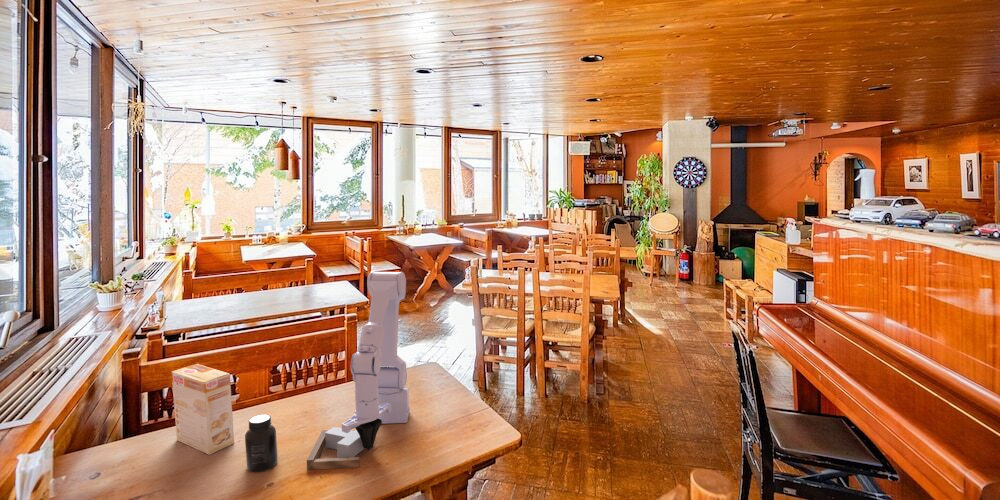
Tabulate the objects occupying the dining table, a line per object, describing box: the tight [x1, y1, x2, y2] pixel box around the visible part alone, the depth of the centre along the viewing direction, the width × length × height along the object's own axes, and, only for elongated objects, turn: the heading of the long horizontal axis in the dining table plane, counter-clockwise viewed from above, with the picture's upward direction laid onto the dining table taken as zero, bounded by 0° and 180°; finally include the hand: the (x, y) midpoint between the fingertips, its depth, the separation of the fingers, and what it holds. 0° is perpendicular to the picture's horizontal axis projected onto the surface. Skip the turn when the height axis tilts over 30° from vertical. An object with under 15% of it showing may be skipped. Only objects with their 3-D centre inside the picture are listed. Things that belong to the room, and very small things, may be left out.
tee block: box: [325, 426, 365, 458], centre depth 125 cm, size 10×10×4 cm
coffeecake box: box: [171, 363, 235, 456], centre depth 126 cm, size 15×7×20 cm, turn 62°
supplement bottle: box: [244, 413, 278, 473], centre depth 116 cm, size 7×7×12 cm
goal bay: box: [306, 429, 361, 471], centre depth 123 cm, size 12×14×2 cm
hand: (368, 447), depth 123 cm, fingers closed
